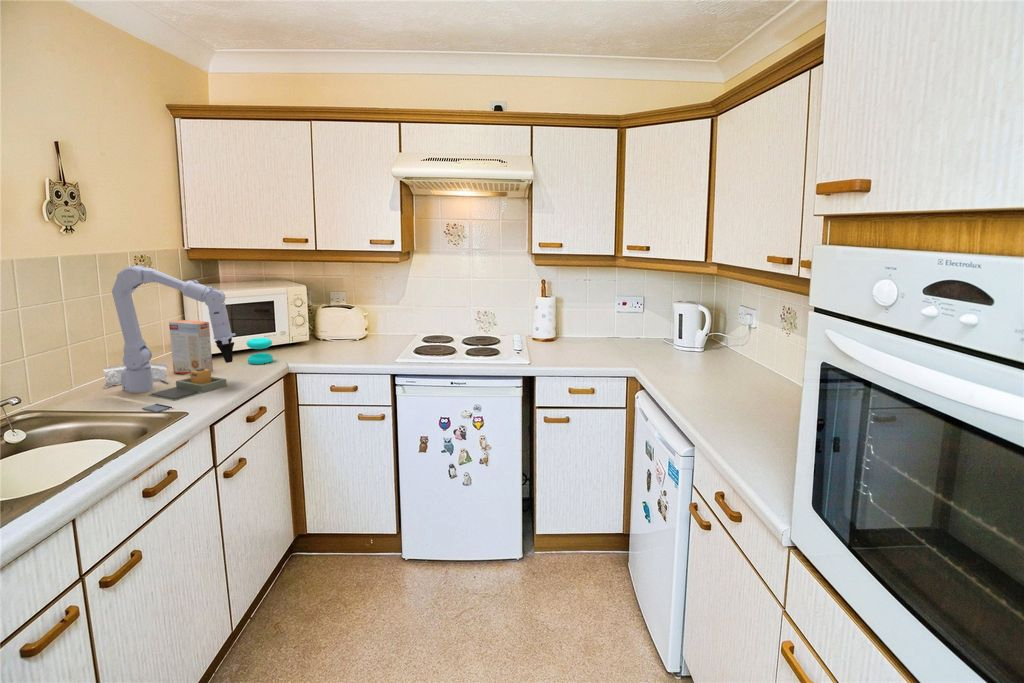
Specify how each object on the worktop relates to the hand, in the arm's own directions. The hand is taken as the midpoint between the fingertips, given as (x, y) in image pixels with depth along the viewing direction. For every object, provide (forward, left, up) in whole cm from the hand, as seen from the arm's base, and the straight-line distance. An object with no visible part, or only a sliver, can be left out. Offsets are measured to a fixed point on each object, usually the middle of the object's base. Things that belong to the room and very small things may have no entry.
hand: (228, 360), depth 207 cm
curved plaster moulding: (-31, -13, -11) cm, 35 cm away
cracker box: (-29, +8, -11) cm, 32 cm away
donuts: (-21, +34, -11) cm, 41 cm away
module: (-7, -6, -9) cm, 13 cm away
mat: (0, -26, -10) cm, 28 cm away
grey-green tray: (-7, -11, -10) cm, 17 cm away
